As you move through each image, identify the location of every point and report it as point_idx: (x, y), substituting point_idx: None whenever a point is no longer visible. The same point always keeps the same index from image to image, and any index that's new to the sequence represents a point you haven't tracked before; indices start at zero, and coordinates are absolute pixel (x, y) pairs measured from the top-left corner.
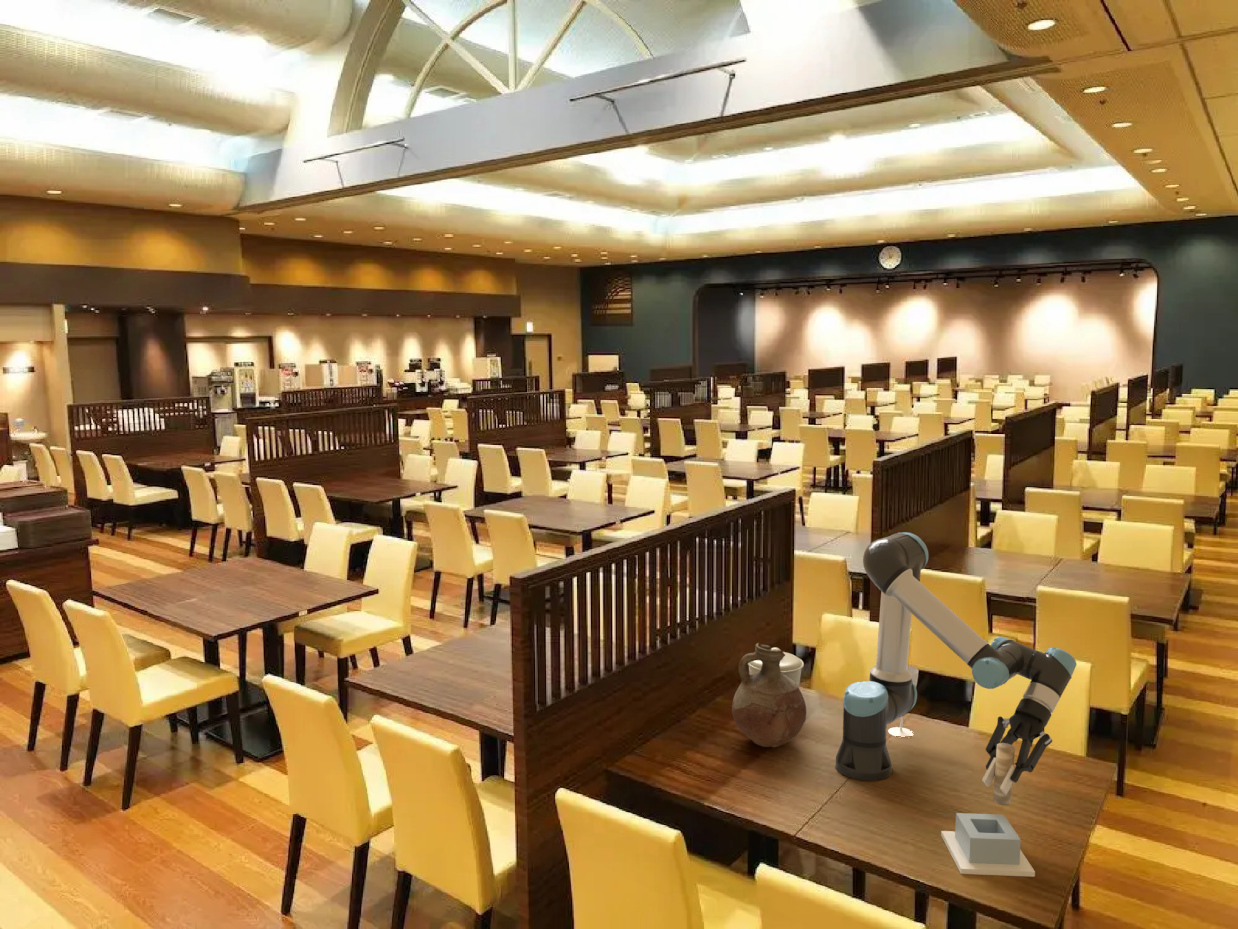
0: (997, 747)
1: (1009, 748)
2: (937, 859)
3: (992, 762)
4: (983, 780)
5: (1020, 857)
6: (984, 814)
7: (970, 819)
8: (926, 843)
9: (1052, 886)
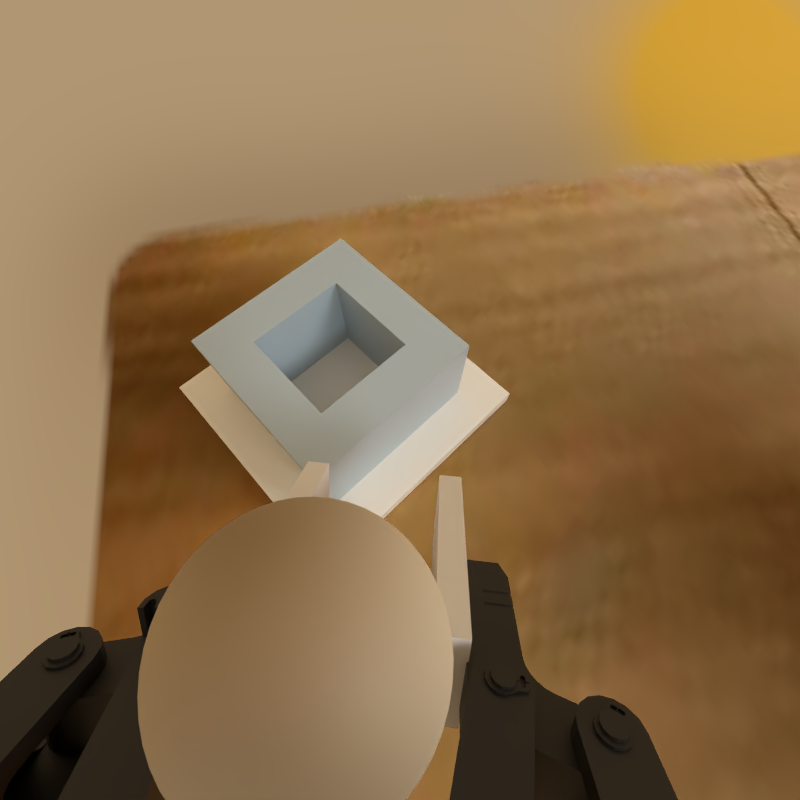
0: (403, 537)
1: (221, 627)
2: (436, 288)
3: (458, 587)
4: (451, 478)
5: (239, 431)
6: (379, 416)
7: (401, 340)
8: (506, 333)
9: (132, 387)
